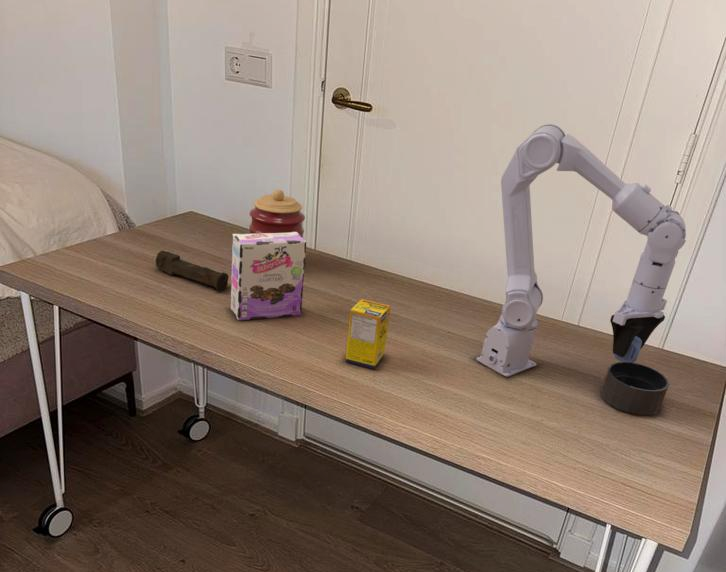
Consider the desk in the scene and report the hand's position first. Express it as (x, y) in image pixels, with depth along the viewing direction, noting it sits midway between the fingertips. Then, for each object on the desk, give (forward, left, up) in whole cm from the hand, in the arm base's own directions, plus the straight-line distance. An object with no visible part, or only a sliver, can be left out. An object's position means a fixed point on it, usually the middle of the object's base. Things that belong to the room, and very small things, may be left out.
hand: (626, 351), depth 132 cm
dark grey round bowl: (-1, -4, -9) cm, 9 cm away
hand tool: (-46, +81, -9) cm, 93 cm away
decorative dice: (0, 0, -2) cm, 2 cm away
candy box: (-40, +59, -9) cm, 72 cm away
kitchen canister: (-22, +82, -9) cm, 85 cm away
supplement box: (-35, +33, -9) cm, 49 cm away
